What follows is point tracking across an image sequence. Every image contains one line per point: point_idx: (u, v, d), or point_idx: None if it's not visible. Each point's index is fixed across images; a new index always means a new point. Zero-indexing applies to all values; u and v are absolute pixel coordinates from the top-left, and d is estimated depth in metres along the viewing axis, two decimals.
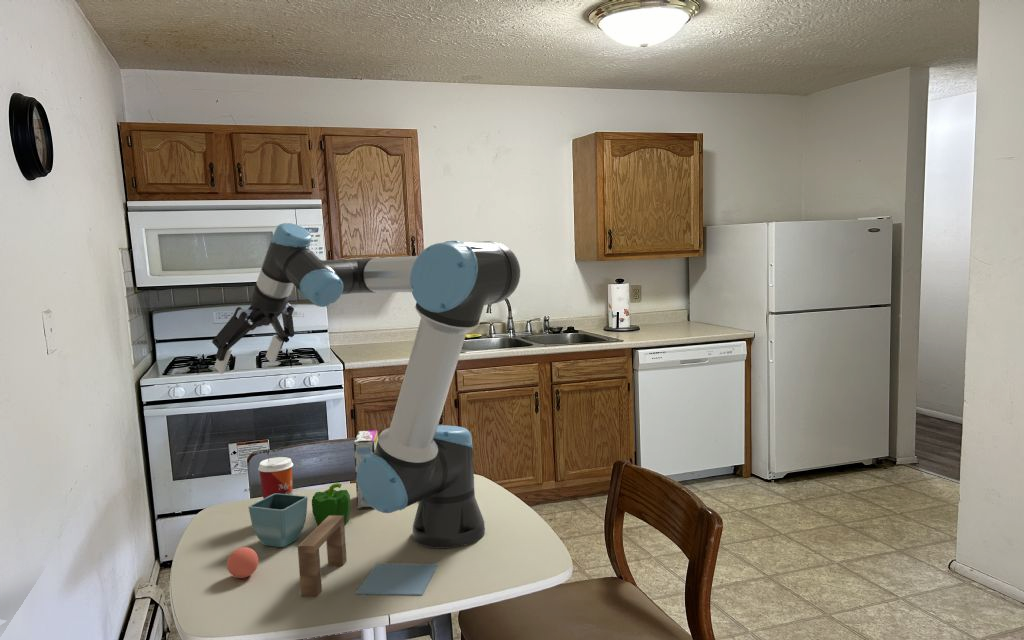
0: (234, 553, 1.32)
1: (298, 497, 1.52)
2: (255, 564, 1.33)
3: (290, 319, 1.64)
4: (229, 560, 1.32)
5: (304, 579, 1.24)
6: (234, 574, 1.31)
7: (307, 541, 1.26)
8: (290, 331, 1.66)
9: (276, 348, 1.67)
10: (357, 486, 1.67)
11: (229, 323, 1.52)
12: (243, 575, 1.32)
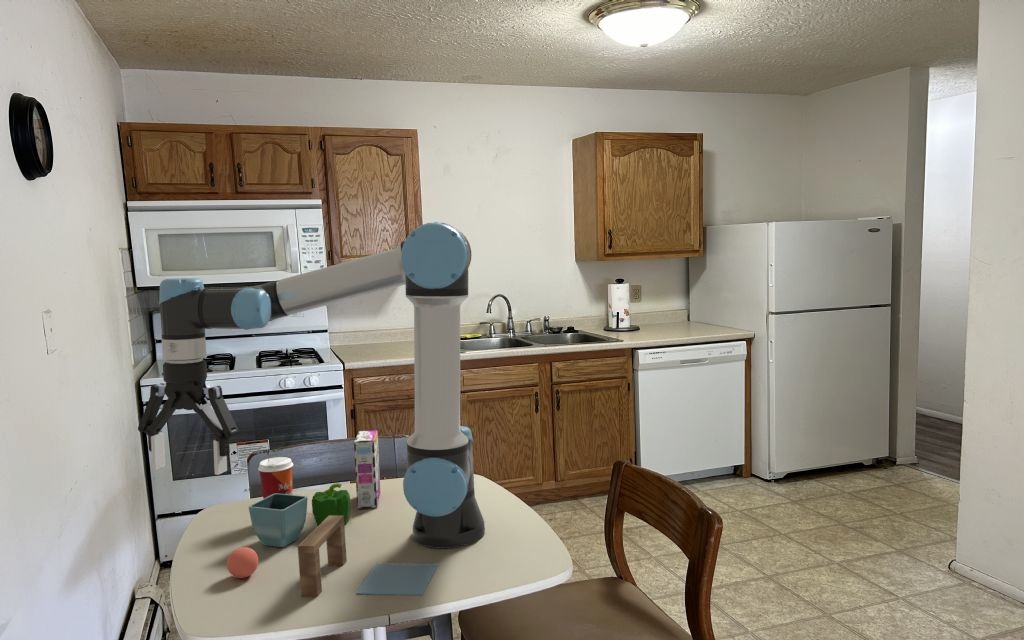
0: (234, 553, 1.32)
1: (298, 497, 1.52)
2: (255, 564, 1.33)
3: None
4: (229, 560, 1.32)
5: (304, 579, 1.24)
6: (234, 574, 1.31)
7: (307, 541, 1.26)
8: None
9: (163, 444, 1.37)
10: (357, 486, 1.67)
11: (220, 407, 1.32)
12: (243, 575, 1.32)
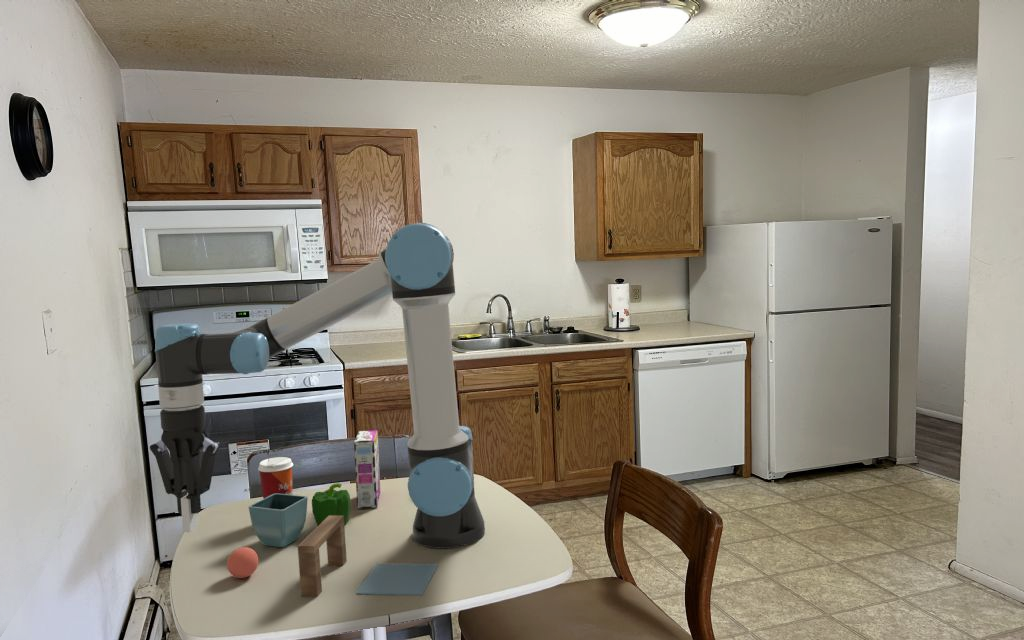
0: (234, 553, 1.32)
1: (298, 497, 1.52)
2: (255, 564, 1.33)
3: None
4: (229, 560, 1.32)
5: (304, 579, 1.24)
6: (234, 574, 1.31)
7: (307, 541, 1.26)
8: None
9: None
10: (357, 486, 1.67)
11: (208, 465, 1.32)
12: (243, 575, 1.32)
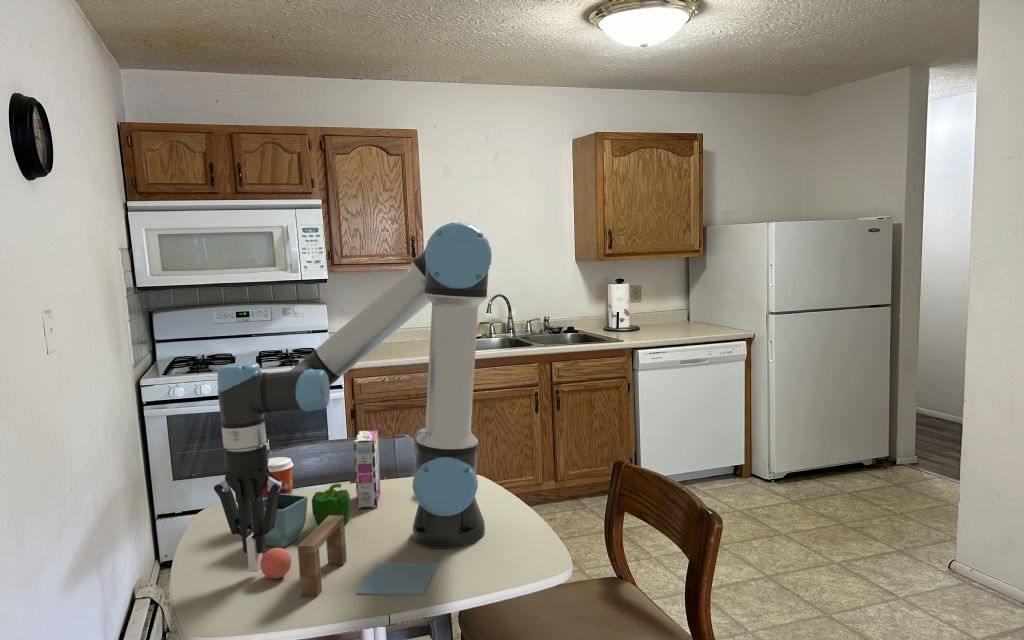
0: (285, 567, 1.31)
1: (298, 497, 1.52)
2: None
3: None
4: (280, 563, 1.30)
5: (304, 579, 1.24)
6: (264, 564, 1.30)
7: (307, 541, 1.26)
8: None
9: None
10: (357, 486, 1.67)
11: (273, 504, 1.31)
12: (261, 568, 1.31)
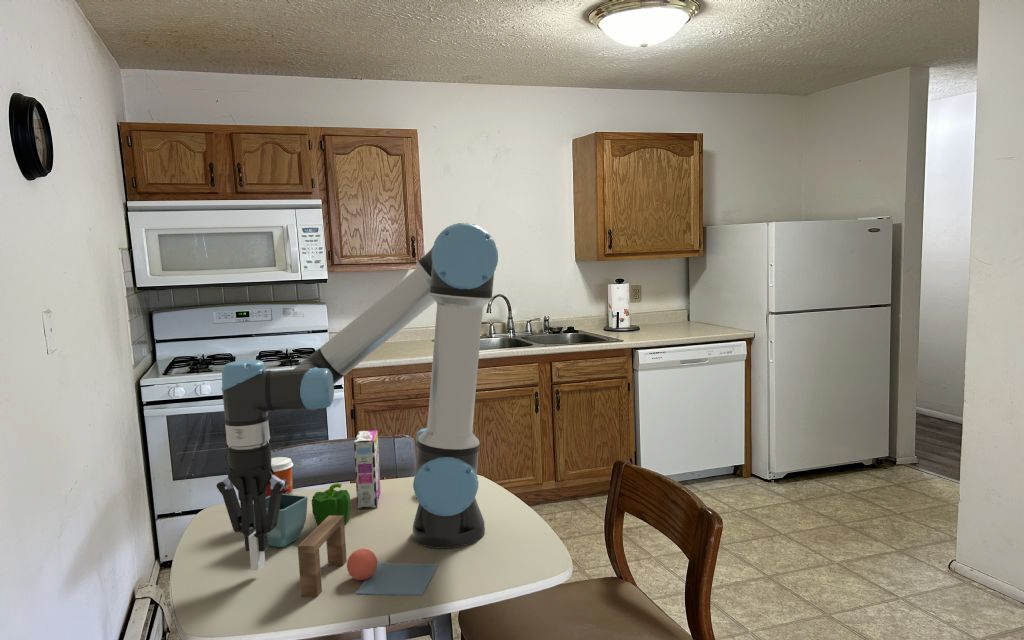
0: (372, 566, 1.29)
1: (298, 497, 1.52)
2: None
3: None
4: (366, 562, 1.28)
5: (304, 579, 1.24)
6: (351, 566, 1.28)
7: (307, 541, 1.26)
8: None
9: None
10: (357, 486, 1.67)
11: (276, 502, 1.31)
12: (349, 572, 1.29)
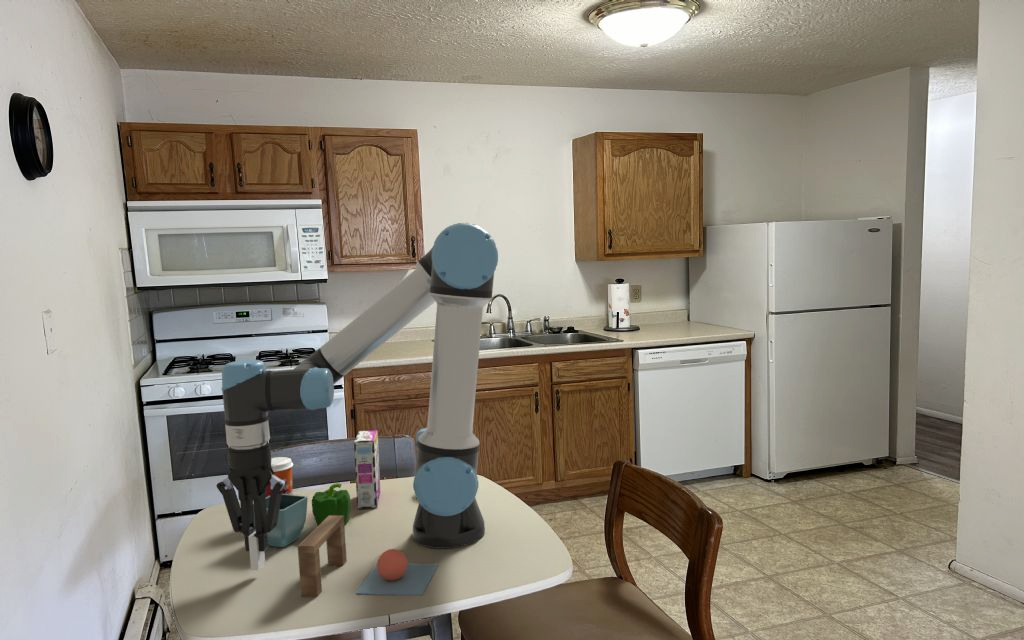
0: (385, 579, 1.29)
1: (298, 497, 1.52)
2: (381, 554, 1.29)
3: None
4: (391, 579, 1.28)
5: (304, 579, 1.24)
6: (394, 567, 1.27)
7: (307, 541, 1.26)
8: None
9: None
10: (357, 486, 1.67)
11: (276, 502, 1.31)
12: (390, 559, 1.28)
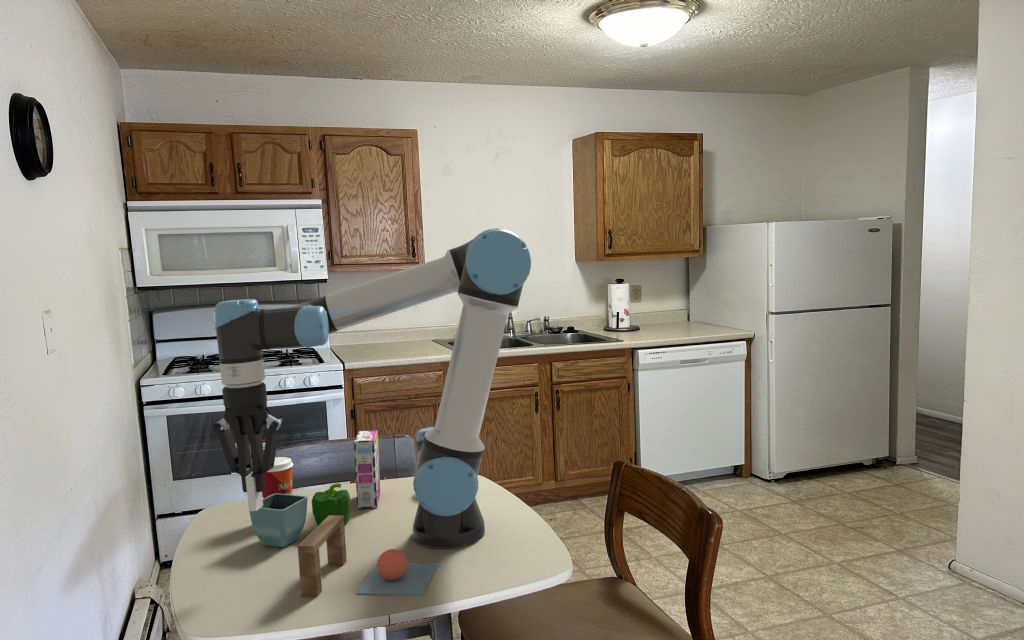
0: (385, 579, 1.29)
1: (298, 497, 1.52)
2: (381, 554, 1.29)
3: None
4: (391, 579, 1.28)
5: (304, 579, 1.24)
6: (394, 567, 1.27)
7: (307, 541, 1.26)
8: None
9: None
10: (357, 486, 1.67)
11: (273, 442, 1.30)
12: (390, 559, 1.28)
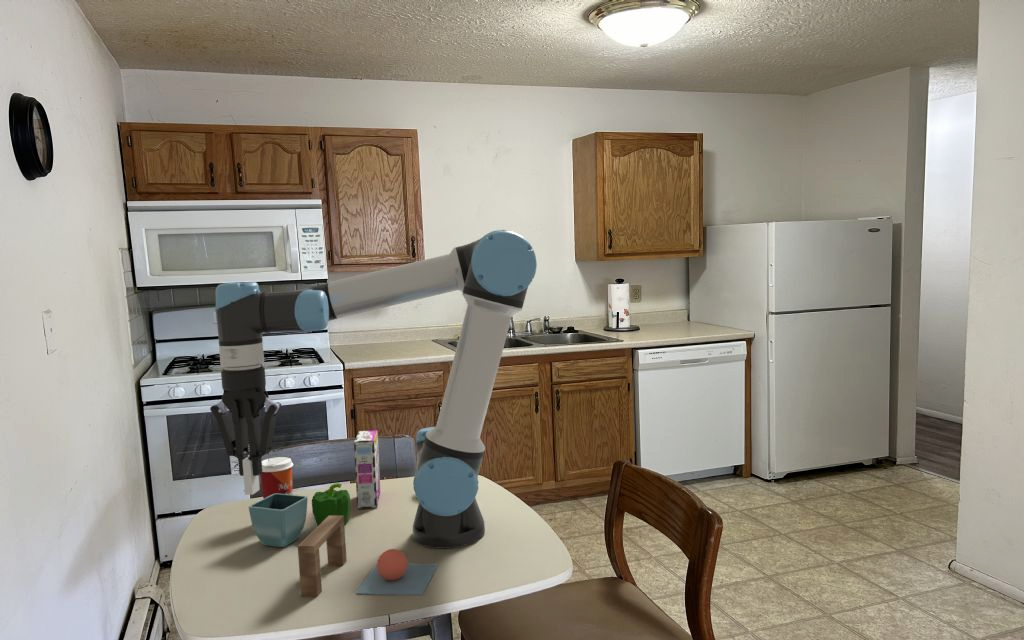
0: (385, 579, 1.29)
1: (298, 497, 1.52)
2: (381, 554, 1.29)
3: None
4: (391, 579, 1.28)
5: (304, 579, 1.24)
6: (394, 567, 1.27)
7: (307, 541, 1.26)
8: None
9: None
10: (357, 486, 1.67)
11: (270, 425, 1.29)
12: (390, 559, 1.28)
